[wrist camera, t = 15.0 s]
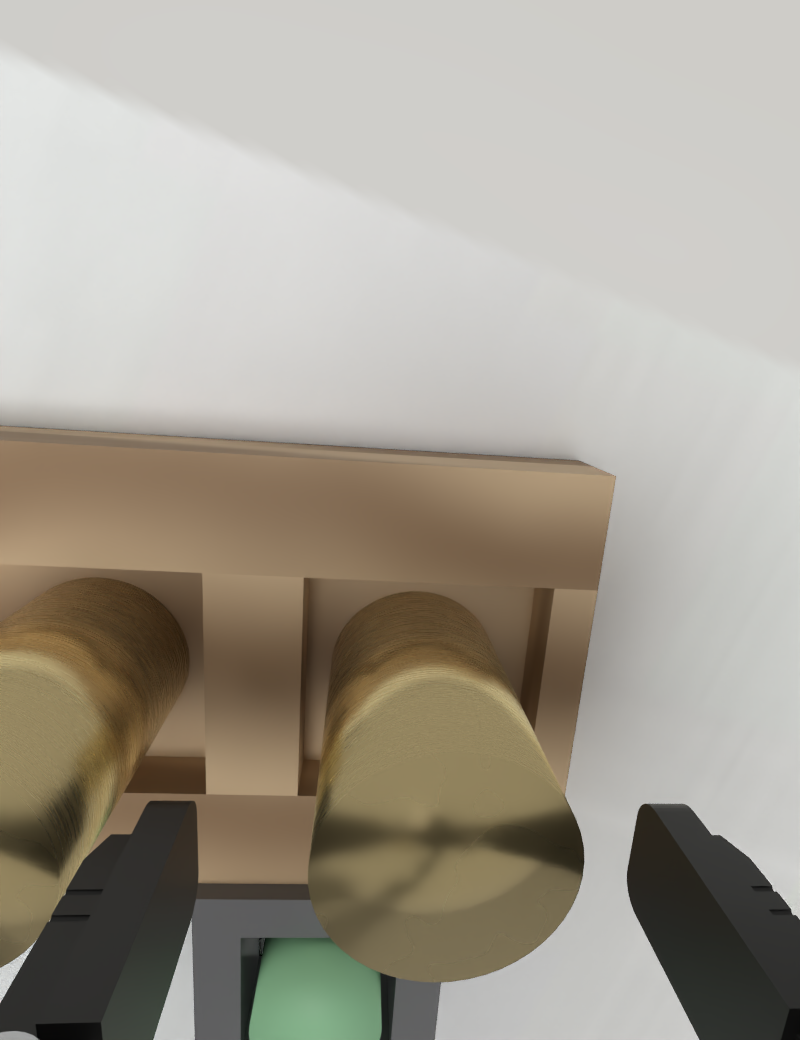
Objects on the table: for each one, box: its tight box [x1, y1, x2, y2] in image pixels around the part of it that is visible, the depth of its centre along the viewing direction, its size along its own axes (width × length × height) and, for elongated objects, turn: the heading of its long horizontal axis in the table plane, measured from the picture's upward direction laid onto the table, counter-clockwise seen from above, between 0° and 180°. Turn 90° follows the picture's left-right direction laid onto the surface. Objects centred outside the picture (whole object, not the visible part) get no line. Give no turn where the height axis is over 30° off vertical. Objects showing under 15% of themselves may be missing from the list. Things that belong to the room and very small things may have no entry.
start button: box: [249, 938, 382, 1040], centre depth 17 cm, size 4×4×3 cm
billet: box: [308, 591, 584, 982], centre depth 13 cm, size 5×5×7 cm
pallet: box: [0, 426, 616, 884], centre depth 16 cm, size 12×17×2 cm
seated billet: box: [0, 577, 190, 967], centre depth 12 cm, size 5×5×7 cm
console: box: [192, 883, 441, 1040], centre depth 18 cm, size 7×7×3 cm
